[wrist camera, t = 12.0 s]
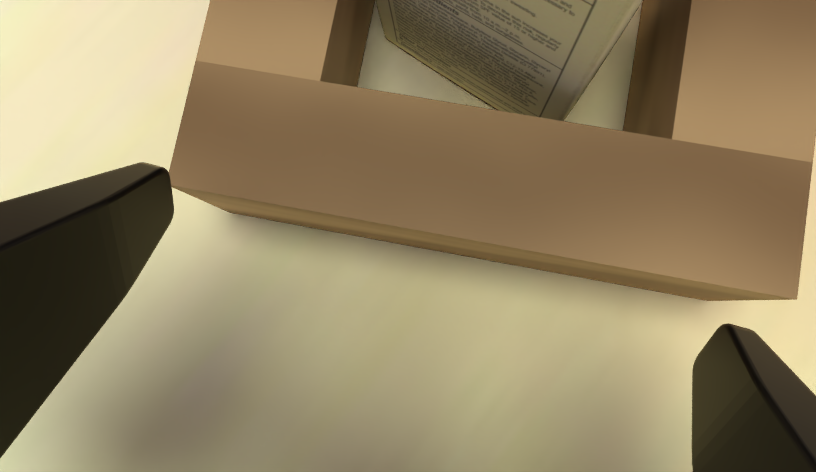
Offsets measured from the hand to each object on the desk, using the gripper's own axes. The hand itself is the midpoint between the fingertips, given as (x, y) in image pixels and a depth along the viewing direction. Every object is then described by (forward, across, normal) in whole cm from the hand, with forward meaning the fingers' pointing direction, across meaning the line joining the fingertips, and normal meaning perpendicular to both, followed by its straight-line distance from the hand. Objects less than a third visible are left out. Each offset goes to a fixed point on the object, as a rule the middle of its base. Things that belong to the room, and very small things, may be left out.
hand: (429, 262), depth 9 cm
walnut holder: (+11, 0, 0) cm, 11 cm away
